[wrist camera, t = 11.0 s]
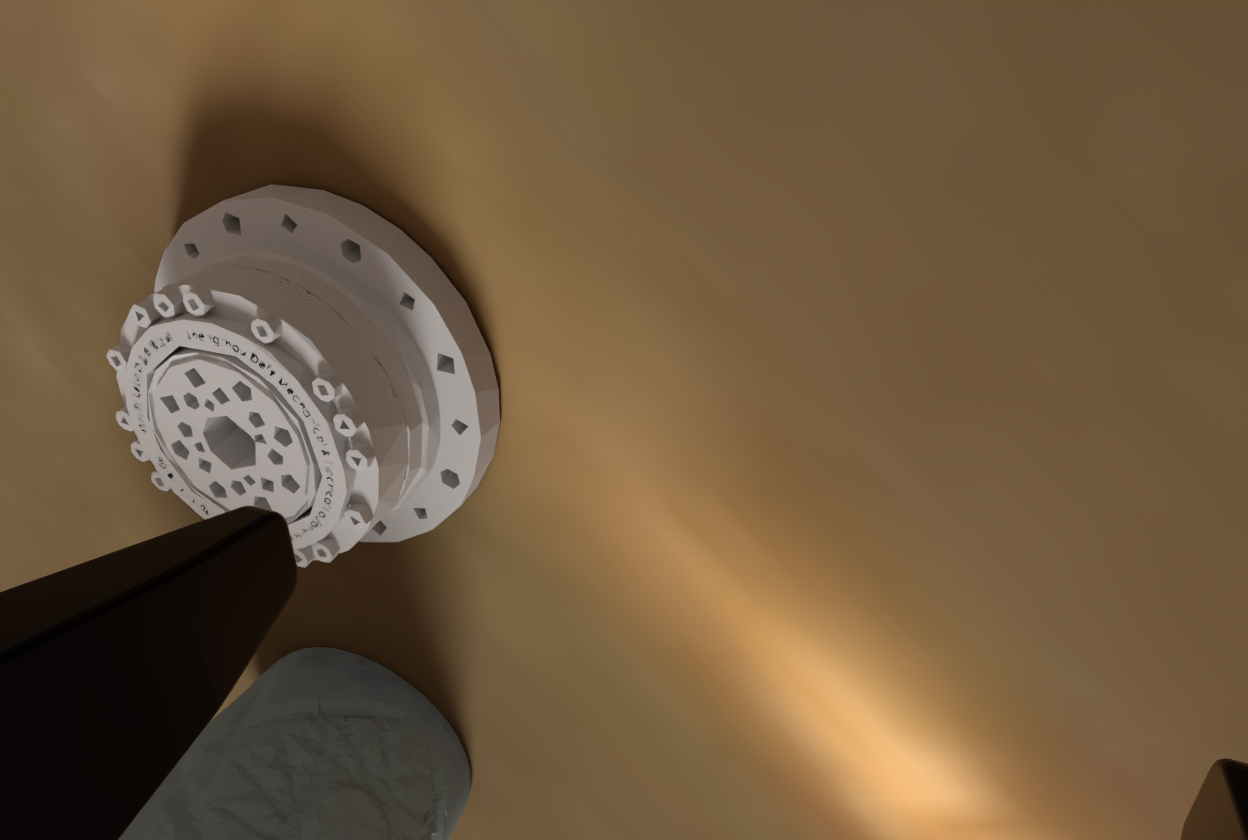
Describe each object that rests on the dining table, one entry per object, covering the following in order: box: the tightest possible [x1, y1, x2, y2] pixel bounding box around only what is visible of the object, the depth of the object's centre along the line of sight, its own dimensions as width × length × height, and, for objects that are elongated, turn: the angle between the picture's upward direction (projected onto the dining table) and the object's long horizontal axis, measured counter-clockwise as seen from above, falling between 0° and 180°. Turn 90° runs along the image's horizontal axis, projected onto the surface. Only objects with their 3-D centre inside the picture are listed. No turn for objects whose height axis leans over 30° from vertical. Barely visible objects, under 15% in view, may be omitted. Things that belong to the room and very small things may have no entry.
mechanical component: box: [107, 184, 500, 568], centre depth 24 cm, size 10×4×10 cm
